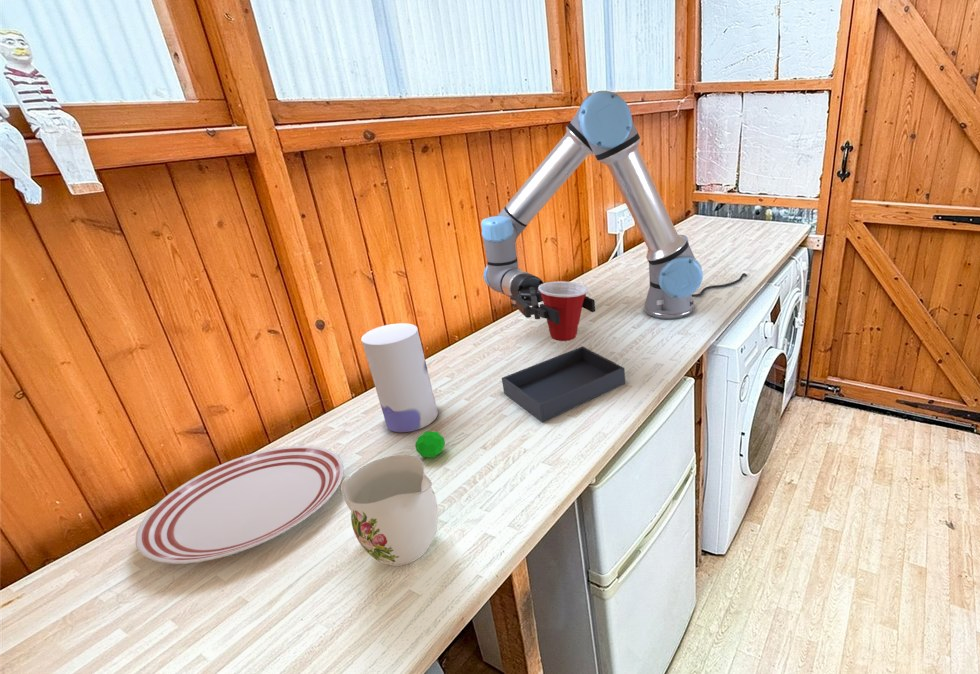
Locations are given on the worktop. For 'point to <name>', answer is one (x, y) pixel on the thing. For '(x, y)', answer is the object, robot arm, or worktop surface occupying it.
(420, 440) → the polyhedron
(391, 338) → the container
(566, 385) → the dark grey tray
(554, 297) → the plastic cup
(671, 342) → the worktop surface
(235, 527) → the dinner plate
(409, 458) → the pitcher
